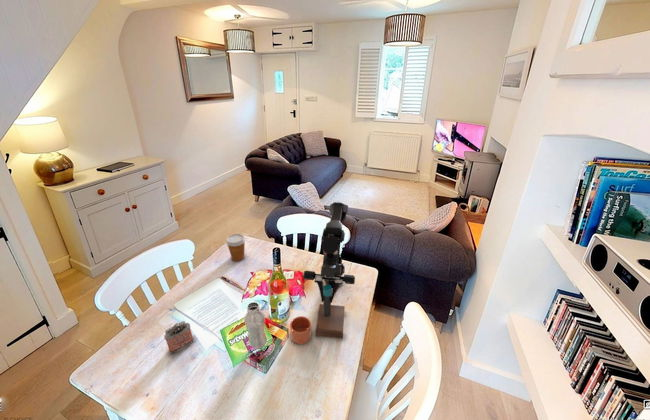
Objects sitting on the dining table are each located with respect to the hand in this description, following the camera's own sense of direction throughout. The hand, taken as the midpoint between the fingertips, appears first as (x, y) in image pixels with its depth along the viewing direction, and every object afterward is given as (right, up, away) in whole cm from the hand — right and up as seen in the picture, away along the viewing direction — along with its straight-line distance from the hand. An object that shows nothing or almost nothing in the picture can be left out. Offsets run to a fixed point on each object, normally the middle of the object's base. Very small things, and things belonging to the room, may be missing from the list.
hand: (326, 302), depth 96 cm
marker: (0, -6, +4) cm, 7 cm away
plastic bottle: (-24, -16, -2) cm, 28 cm away
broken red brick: (-51, -15, -1) cm, 53 cm away
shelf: (+2, -11, +8) cm, 14 cm away
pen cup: (-9, -13, +3) cm, 17 cm away
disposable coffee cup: (-46, +8, +46) cm, 66 cm away
